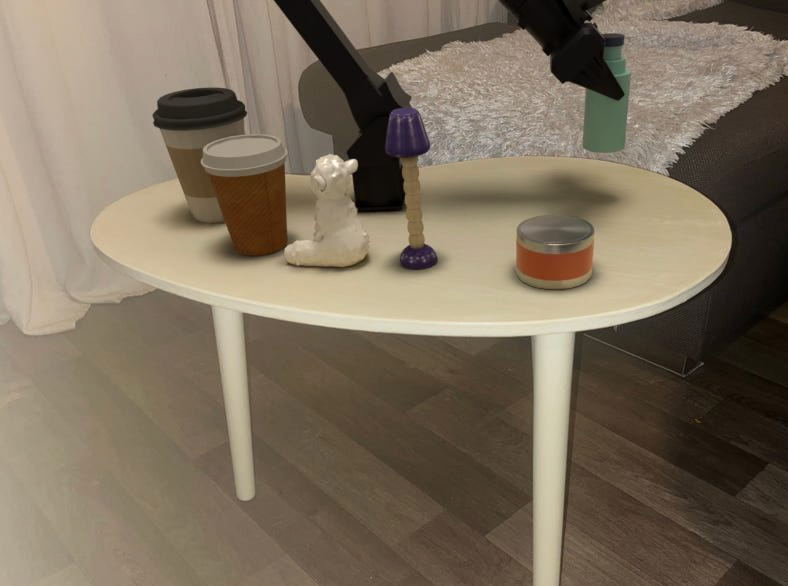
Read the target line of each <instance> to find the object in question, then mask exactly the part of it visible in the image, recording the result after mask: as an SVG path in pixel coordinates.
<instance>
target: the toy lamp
mask: <svg viewBox="0 0 788 586" xmlns="http://www.w3.org/2000/svg"><path fill="white" fill-rule="evenodd" d="M430 149H431V142H430V139H429V136H428V133H427V130H426V127H425V124H424V121H423V118H422V115H421V113H420V111H419V109H417V108H414V107H412V108H399V109H395V110H393V111H392V112H391V113H390V116H389V121H388V128H387V135H386V143H385V151H386V153H387V154H388V155H390V156H393V157H401V163H402V165H403V169H402V175H403V178H404V180H405V181H404V191H405V193H406V195H405V201H404V205H405V207H406V210H405V216H406V219H407V226H406V227H407V231H408V233H409V235H408V244H409V245H407V246H406V247H405V248H403V249H402V251H401V253H400V256H399V264H400V266H402V267H403V268H406V269H409V270H423V269H428V268H430V267H432V266H435V265H436V264H437V262H438V255H437V252H436V250H434V248H433V247H432V246H430V245H429V244H426V243H425V242H426V240H425V239H426V237H425V235H424V233H423V232H424V229H425V228H424V227H425V226H424V222H423V215H424V213H423V209H422V207H421V206H422V200H423V199H422V195H421V193H420V192H421V182H420V180H419V177H420V169H419V166H418V162H419V156H423V155H425V154H427V153H428V152H430Z"/></svg>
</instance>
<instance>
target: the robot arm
mask: <svg viewBox="0 0 788 586" xmlns="http://www.w3.org/2000/svg"><path fill="white" fill-rule="evenodd" d="M497 1H498V2H499V3H500V4H501V6H503V7H504V8H505V9H506V11H507V12H508V13H509V14H510V15H511V16H512V17H513V18H514V19H515V20H516V24H517V26H518V27H519V28H520V29H521V30H522V31H526V32H527V33H528V35H530V36H531V37H532V39H534V40H535V42H536V43H537V44H538V45H539V46H540V48H541V51H542V52H543V53H544V54H545V55H546V56H547V57H549V68H550V70H549V71H550V73H551V74H552V75H553V76H554V77H555V78H556V79H557V81H558V82H560V83H561V85H564V84H565V83H572V84H573V85H576V86H578V87H582V88H584V89H586V88H587V89H589V90H592V91H595V92H597V93H599V94H602V95H604V96H607V97H609V98H612V99H614V100H617V101H619V100H620V99H621V98H622V97H623V96H624V95H625V93H624V91H623V90H622V88H621V86H620V85H619V83H618V81H617V80H616V78H615V76H614V75H613V73H612V71H611V70H610V68H609V66H608V65H607V63H606V62H605V60H604V58H603V55H604V46H605V41H606V40H605V39H604V37H603V35H602V34H603V33H601V32H600V31H599V28H598V27H599V26H598V24H597V23H596V21H594V22H593V23H592V22H591V21H593V19H594V17H593V16H592V15H591V13H590V12H589V11H590V9H593V8H595V7H597V6H598V5H600V4H602V3H604V2H606V1H607V0H497ZM273 2H274V3H275V4H276V6H277V7H278V8H279V9H280V11H281V12H282V13H283V15H284V16H285V18H286V19H287V20H288V21H289V23H290V24H291V25H292V27H293V28H294V29H295V30H296V32H297V33H298V35H299V36H300V37H301V38H302V40H303V41H304V42H305V44H306V45H307V47H308V48H309V49H310V50H311V51H312V53H313V54H314V55H315V57H316V58H317V59H318V61H319V62H320V63H321V64H322V66H323V67H324V69H325V70H326V71H327V72H328V74H329V75H330V77H331V78H332V79H333V80H334V81H335V83H336V84H337V85H338V87H339V88H340V89H341V91H342V92H343V94H344V97H345V99H346V102H347V104H348V107H349V110H350V113H351V116H352V118H353V120H354V122H355V124H356V126H357V128H358V129H359V130H358V132H357V133H356V135H355V136H354V138H353V140H352V142H351V144H349V147H348V149H347V150H346V156H347V158H348V160H351V159H356V160H357V163H358V167H357V170H356V171H355V172H353V173H352V174H351V175H352V176H351V177H352V178H351V179H352V186H353V187H352V188H353V195H354V203H355V207H356V208H357V210H358V211H357V212H363V211H365V212H366V211H396V210H397V211H401V210H403V209H404V205H405V195H406V193H405V191H404V181H405V180H404V178H403V175H402V169H403V165H402V163H401V157H393V156H390V155H388V154H387V153H386V151H385V143H386V135H387V128H388V121H389V116H390V113H391V112H392V111H393V110H395V109H399V108H413V106H412V105H411V101H412V98H413V96H411V94H408V93H407V92H406V91H405V90H404V89H403V87H402V86H401V84H400V82H399V80H398V79H397V77H396V75H395V73H394V72H393V71H391V72H389V73H388V75H386V77H385V78H384V77H382V76H381V75H380V74H378V73H377V72H376V71H374V70H373V69H372V68H371V67H370V66H369V65H368V64H367V62H366V61H365V59H364V58H363V56H362V55H361V54H360V52H359V51H358V49H357V48H356V47H355V46H354V45H353V43H352V42H351V40H350V39H349V37H348V36H347V35H346V33H345V32H344V30H343V29H342V28H341V27H340V26H339V24H338V23H337V21H336V19H334V17H333V16H332V14H331V13H330V12H329V10H328V9H327V8H326V6H325V5H324V4H323V2H322V1H321V0H273ZM588 10H589V11H588ZM587 21H588V22H587Z"/></svg>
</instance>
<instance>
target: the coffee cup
mask: <svg viewBox="0 0 788 586" xmlns="http://www.w3.org/2000/svg"><path fill="white" fill-rule="evenodd" d="M236 94H237V93H236V92H235V91H234V90H233V89H230V88H228V87H227V88H226V87H212V86H211V87H196V88H188V89H182V90H176V91H173V92H169V93H166V94H164V95H162V96H160V97H159V98H158V99H157V100H156V103H157V104H156V106H157V109H156V110H155V111H154V112H153V113H152V118H153V122H152V124H153V126H154V128H158V129H159V132H160V133H161V137H162V139H163V142H164V144H165V148H166V150H167V152H168V156H169V158H170V160H171V163H172V166H173V168H174V171H175V173H176V176H177V179H178V182H179V184H180V188H181V190H182V192H183V195H184V198H185V200H186V204H187V206H188V207H189V211H190V213H191V214H192V215H193V218H194V220H196V221H198V222H200V223H205V224H208V223H209V224H217V223H218V224H219V223H225V220H224V217H223V215H222V212H221V209H220V206H219V203H218V200H217V198H216V195H215V192H214V189H213V186H212V183H211V180H210V177H209V175H208V172H206V171H205V168H204V167H203V166H202V165H201V159H202V158H203V148H204V147H205V146H206V145H207V144H209V143H211V142H213V141H216V140H219V139H223V138H227V137H232V136H239V135H246V131H245V118H246V117H247V115H248V113H249V112H247V110H246V104H244V102H243V101H241V100H238V97H237V95H236Z"/></svg>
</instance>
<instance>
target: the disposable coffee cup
mask: <svg viewBox="0 0 788 586" xmlns="http://www.w3.org/2000/svg"><path fill="white" fill-rule="evenodd" d="M287 157H288V150H287V149H286V148H285V147H284V145H283V141H282V139H281V138H279V137H278V136H274V135H271V134H260V133H252V134H245V135H239V136H232V137H227V138H223V139H219V140H216V141H213V142H211V143H209V144H207V145H206V146H205V147H204V148H203V158H202V159H201V165H202V166H203V167H204V168H205V171H206V172H208V175H209V177H210V180H211V183H212V186H213V189H214V192H215V195H216V198H217V200H218V203H219V206H220V209H221V212H222V215H223V217H224V220H225V222H224V223H225V226H226V229H227V231H228V235H229V237H230V240H231V243H232V246H233V248H234V251H235V252H236V253H238V254H240V255H244V256H264V255H269V254H272V253H275V252H277V251H280V250H282V249H283V248H286V247H287V245H288V220H287V192H286V190H287V189H286V186H287V185H286V161H287Z"/></svg>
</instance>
